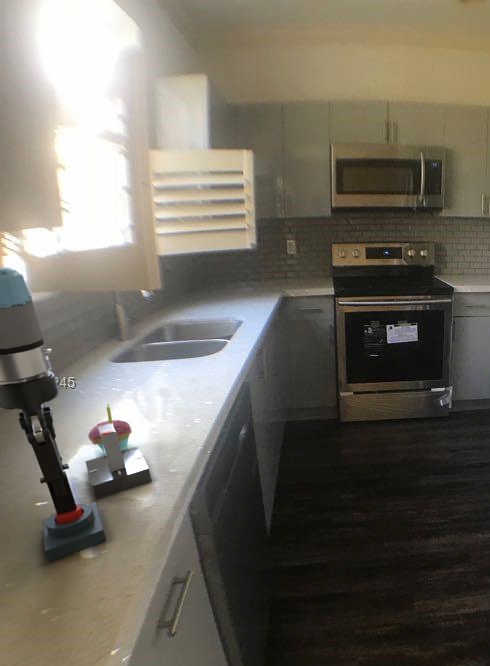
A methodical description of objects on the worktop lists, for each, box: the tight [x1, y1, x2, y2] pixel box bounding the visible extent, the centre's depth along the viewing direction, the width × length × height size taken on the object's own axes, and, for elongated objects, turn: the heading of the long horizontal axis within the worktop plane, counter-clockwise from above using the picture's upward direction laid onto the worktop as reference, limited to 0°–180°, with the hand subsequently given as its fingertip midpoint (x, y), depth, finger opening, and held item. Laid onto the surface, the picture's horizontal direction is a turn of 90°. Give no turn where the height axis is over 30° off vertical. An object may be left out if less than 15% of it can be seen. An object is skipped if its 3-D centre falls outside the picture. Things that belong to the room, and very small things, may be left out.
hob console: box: [85, 446, 153, 500], centre depth 94 cm, size 12×10×3 cm
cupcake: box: [87, 403, 132, 455], centre depth 104 cm, size 9×8×12 cm
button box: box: [42, 501, 107, 563], centre depth 77 cm, size 10×8×4 cm
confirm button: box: [54, 503, 83, 524], centre depth 76 cm, size 4×4×2 cm
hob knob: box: [98, 423, 125, 472], centre depth 92 cm, size 6×3×8 cm, turn 37°
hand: (66, 509), depth 76 cm, fingers closed
